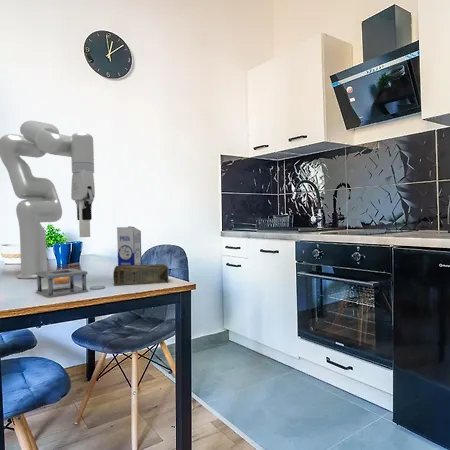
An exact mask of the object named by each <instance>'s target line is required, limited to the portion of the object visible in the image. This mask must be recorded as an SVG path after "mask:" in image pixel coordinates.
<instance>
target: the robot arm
mask: <svg viewBox="0 0 450 450" xmlns="http://www.w3.org/2000/svg"><path fill="white" fill-rule="evenodd" d="M19 132H20V134H13V133H12V134H9V133H8V134H5V135H2V136H1V137H0V159H1V162H2V163H3V165H4V167H5V170H6V171H7V173H8V177H9V180H10V184H11V185H12V190H13V193H14V195H15V196H16V197H17V199H20V200H21V201H19V202H18V203H17V205H16V208H15V213H16V217H17V221H18V228H19V247H20V248H19V249H20V273H18V274H17V275H16V277H17V278H18V279H37V275H36V272H44V271H48V264H47V263H48V261H47V259H48V258H47V256H48V255H47V233H46V230H45V228H44V226H42V223H55V222H58V221H59V220H61V218H62V216H63V208H62V207H63V206H62V204H61V202H60V197H59V195H58V193H57V189H56V187H55V184H54V183H53V181H52V180H50V179H48V178H45V177H36V176H34V175H33V172H32V169H31V167H30V165H29V164H28V163H27V162H26V160H24V159H23V158H22V157H29V158H36V159H37V158H42V157H44V156H45V155H46V154H50V155H52V156H53V155H54V156H61V157H69V158H70V160H71V173H72V176H71V189H70V191H71V193H70V195H71V200H72V201H74V202H75V205H76V216H77V217H76V218H77V221H79V200H82V202H83V209H82V220H90V221H91V220H92V219H93V218H92V208H93V202H94V199H95V195H96V194H95V193H96V192H95V191H96V189H95V176H94V174H95V157H94V156H95V155H94V153H95V152H94V137H93V135H91V134H90V133H87V132H86V133H85V132H76V133H73V134H72V135H66V134H60V131H59V129H58V128H57V126H56V125H54V124H53V123H52V124H50V123H46V122H41V121H37V120H26V121H24V122H23V123H21V125H20V127H19ZM85 198H88V199H85ZM85 202H86V204H85Z"/></svg>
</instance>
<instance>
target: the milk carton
mask: <svg viewBox="0 0 450 450" xmlns="http://www.w3.org/2000/svg"><path fill="white" fill-rule="evenodd" d="M116 235H117V236H116V239H117V242H116V243H117V244H116V245H117V266H120V265H143V262H142V231H141V230H140V229H138V228H136V227H135V226H131V225H129V226H123V227H121V226H118V227H116Z"/></svg>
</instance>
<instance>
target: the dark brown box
mask: <svg viewBox="0 0 450 450" xmlns="http://www.w3.org/2000/svg"><path fill="white" fill-rule="evenodd" d="M166 283H167V284H168V283H169V267H168V264H167V263H155V264H142V265H120V266H118V265H115V266H114V269H113V286H129V285H131V286H132V285H133V286H134V285H150V284H151V285H153V284H166Z"/></svg>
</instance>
